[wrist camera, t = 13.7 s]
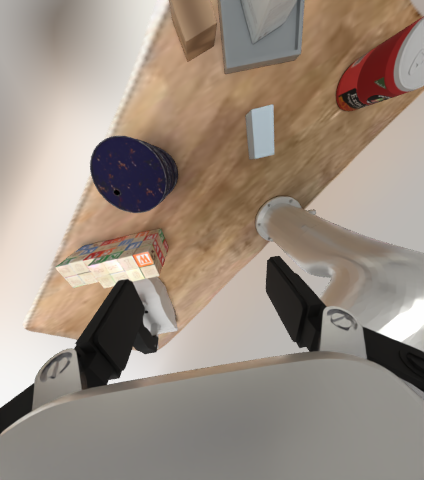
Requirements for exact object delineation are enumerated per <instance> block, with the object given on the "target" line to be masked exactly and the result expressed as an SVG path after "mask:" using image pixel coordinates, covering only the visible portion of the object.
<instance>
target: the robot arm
mask: <svg viewBox="0 0 424 480" xmlns="http://www.w3.org/2000/svg"><path fill="white" fill-rule="evenodd" d="M289 200H290V201H289ZM268 204H269V205H268ZM315 214H316V211H315V210H309V211H306V210H304V209H302V208H301V206H300V204H299V203H298V201H297V200H295V199H293V198H291V197H287V196H279V197H275V198H272V199H271V200H269V201H267V202H266V203H265V204H264V205H263V206H262V207H261V208H260V210H259V212H258V214H257V216H256V220H255V226H256V230H257V232H258V233H259V235H260V236H261V237H262V238H264V239H265V240H268V241H274V242H275V243H276V244H277V245H278V246H279V247H280V248H281V249H282V250H283V251H284V252H285V253H286V254H287V255H288V256H289V257H290V258H291V259H292V260H293V261H294V262H295V263H296V264H297V265H298V266H299V267H300V268H301V269H302V270H304V271H305V272H307V273H309V274H311V275H315V276H319V277H329V278H331V280H330V282H329V284H328V285H327V286H326V288H325V290H324V292H323V293H322V294H321V295H320V296H319V297H318V296H317V295H316V294H315V293H314V292H313V291H312V290H311V289H310V287H309V286H308V285H307V284H306V283H305V282H304V281H303V280H302V279H301V278H300V276H299V275H298V274H296V273H294V272H293V271H292V270H291V269H290V267H289V266H288V265H287V264H286V263H285V262H284V261H283V260H282V258H281V257H280V256H275V257H270V259H269V260H267V276H266V292H267V294H268V296H269V298H270V300H271V302H272V304H273V305H274V307H275V309H276V311H277V313H278V315H279V316H280V318H281V320H282V322H283V324H284V326H285V328H286V330H287V331H288V333H289V335H290V337H291V339H292V340H293V341H294V342H296V343H297V344H298V346H299V348H302V347H307V348H308V350H309V351H310V352H303V353H296V354H288V355H281V356H275V357H268V358H261V359H255V360H249V361H243V362H237V363H231V364H225V365H219V366H213V367H207V368H201V369H195V370H189V371H183V372H177V373H172V374H165V375H160V376H154V377H148V378H142V379H137V380H131V381H126V382H120V383H114V384H109V385H107V383H108V380H111V379H117V378H119V377H120V375H121V372H122V370H124V369H125V367H126V364H127V361H128V359H129V356H130V353H131V350H132V347H133V344H134V342H135V339H136V336H137V333H138V330H139V327H140V324H141V322H142V319H143V316H144V313H145V307H144V305H143V303H142V301H141V299H140V297H139V295H138V293H137V290H136V288H135V286H134V284H133V282H132V281H130V280H129V279H124V280H119V281H117V283H116V284H115V286H114V287H113V289H112V290H111V292H110V293H109V295H108V296H107V298H106V299H105V300H104V302H103V303H102V305H101V306H100V308H99V309H98V311H97V312H96V314H95V315H94V317H93V318H92V320H91V321H90V323H89V324H88V326H87V327H86V329H85V330H84V331H83V333H82V334H81V336H80V337H79V339H78V340H77V342H76V347H75V348H74V349H66V350H63V351H61V352H59V353H57V354H56V355H54V356H53V357H52V358H50V359H49V360H48V361H47V362H46V363H45V364H44V365H43V366H42V368H41V369H40V370H39V372H38V374H37V375H36V378H35V383H34V384H32V385H31V386H30V387H28V388H27V389H25V390H24V391H23V392H22V393H20V394H19V395H18V396H16V397H15V398H13V399H12V400H11V401H10V402H8V403H7V404H5V405H4V406H3V407H1V408H0V480H424V253H421V252H418V251H414V250H411V249H407V248H403V247H400V246H396V245H393V244H389V243H385V242H382V241H379V240H376V239H373V238H369V237H366V236H363V235H361V234H358V233H355V232H353V231H351V230H348V229H346V228H343V227H341V226H339V225H336V224H334V223H331V222H329V221H327V220H324V219H322V218H320V217H317V216H315Z"/></svg>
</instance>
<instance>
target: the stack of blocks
mask: <svg viewBox="0 0 424 480" xmlns="http://www.w3.org/2000/svg"><path fill="white" fill-rule="evenodd" d="M167 251H168V245H167V243H166V240H165V238H164V235H163V233H162V230H161V229H156V230H152V231H146V232H141V233H137V234H132V235H128V236H125V237H121V238H117V239H113V240H108V241H102V242H98V243H94V244H89V245H85V246H82V247H81V248H80V249H78V250H77V251H76V252H74V253H73V254H71V255H70V256H69V257H67V258H66V260H64V261H63V262H62V263H60V264H59V265H57V266H56V267H55V268H56V269H57V270H58V271H59V272H60V274H61V275H62V276H63V277H64V278H65V279H66V280H67V281H68V282H69V284H70V285H71V286H72V287H73V288H74V287H78V286H82V285H87V284H92V283H96V282H100V284H101V285H102V287H103V288H108V287H112V286H115V284H116V283H117V281H119V280H124V279H129V280H130V281H132V282H133V281H138V280H142V279H145V278H146V279H147V278H152V277H156V276H159V275H160V272H161V269H162V267H163V265H164V261H165V257H166V254H167Z"/></svg>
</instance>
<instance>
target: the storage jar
mask: <svg viewBox="0 0 424 480" xmlns="http://www.w3.org/2000/svg"><path fill="white" fill-rule="evenodd" d="M90 170H91V176H92V179H93V182H94V184H95V186H96V188H97V189H98V191H99V192H100V194H101V195H102V196H103V197H104V198H105V199H106V200H107V201H108V202H109V203H111V204H112V205H113V206H115V207H117V208H119V209H121V210H123V211H127V212H132V213H142V212H146V211H149V210H151V209H153V208H155V207H156V206H157V205H158V204H159V203H161V202H162V201H163V200H164V199H165V198H166V196H167V195H168V194H169V193H170V192H171V191H172V190H173V189H174V187H175V185H176V183H177V180H178V170H177V166H176V163H175V162H174V160H173V159H172V157H171V156H170V155H169V154H168V153H167V152H165V151H164V150H162V149H160V148H158V147H156V146H153V145H151V144H149V143H146V142H144V141H141V140H138V139H134V138H131V137H126V136H113V137H109V138H107V139H105V140H103V141H102V142H100V143H99V144H98V145H97V146H96V148H95V150H94V151H93V154H92V156H91V161H90Z"/></svg>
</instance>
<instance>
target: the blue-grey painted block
mask: <svg viewBox="0 0 424 480" xmlns="http://www.w3.org/2000/svg"><path fill="white" fill-rule="evenodd" d="M246 127H247V138H248V150H249V159H257V158H261V157H265V156H269V155H273V154H274V114H273V104H272V105H268V106H264V107H260V108H256V109H252V110H251V111H250V112H249V113H248V114H247V115H246Z"/></svg>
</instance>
